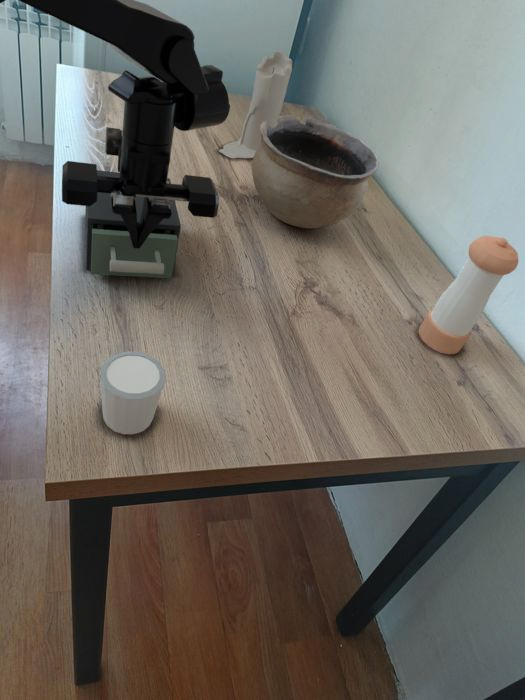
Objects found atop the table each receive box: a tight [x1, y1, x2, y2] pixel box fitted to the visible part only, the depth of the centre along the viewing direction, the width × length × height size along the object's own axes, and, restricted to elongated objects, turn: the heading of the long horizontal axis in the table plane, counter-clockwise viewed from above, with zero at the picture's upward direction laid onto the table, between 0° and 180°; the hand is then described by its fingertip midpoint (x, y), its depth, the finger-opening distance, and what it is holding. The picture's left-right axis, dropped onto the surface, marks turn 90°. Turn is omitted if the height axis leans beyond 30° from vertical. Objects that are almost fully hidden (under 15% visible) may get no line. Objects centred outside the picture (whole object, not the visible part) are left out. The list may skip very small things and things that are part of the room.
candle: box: [218, 49, 293, 159], centre depth 114 cm, size 7×14×20 cm, turn 138°
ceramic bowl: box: [251, 114, 380, 229], centre depth 100 cm, size 22×22×15 cm
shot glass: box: [99, 350, 167, 435], centre depth 59 cm, size 7×7×7 cm
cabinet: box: [84, 169, 182, 275], centre depth 82 cm, size 14×13×9 cm
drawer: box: [90, 224, 179, 279], centre depth 78 cm, size 17×11×7 cm, turn 14°
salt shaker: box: [418, 235, 519, 355], centre depth 81 cm, size 7×7×19 cm
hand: (136, 246), depth 73 cm, fingers closed
